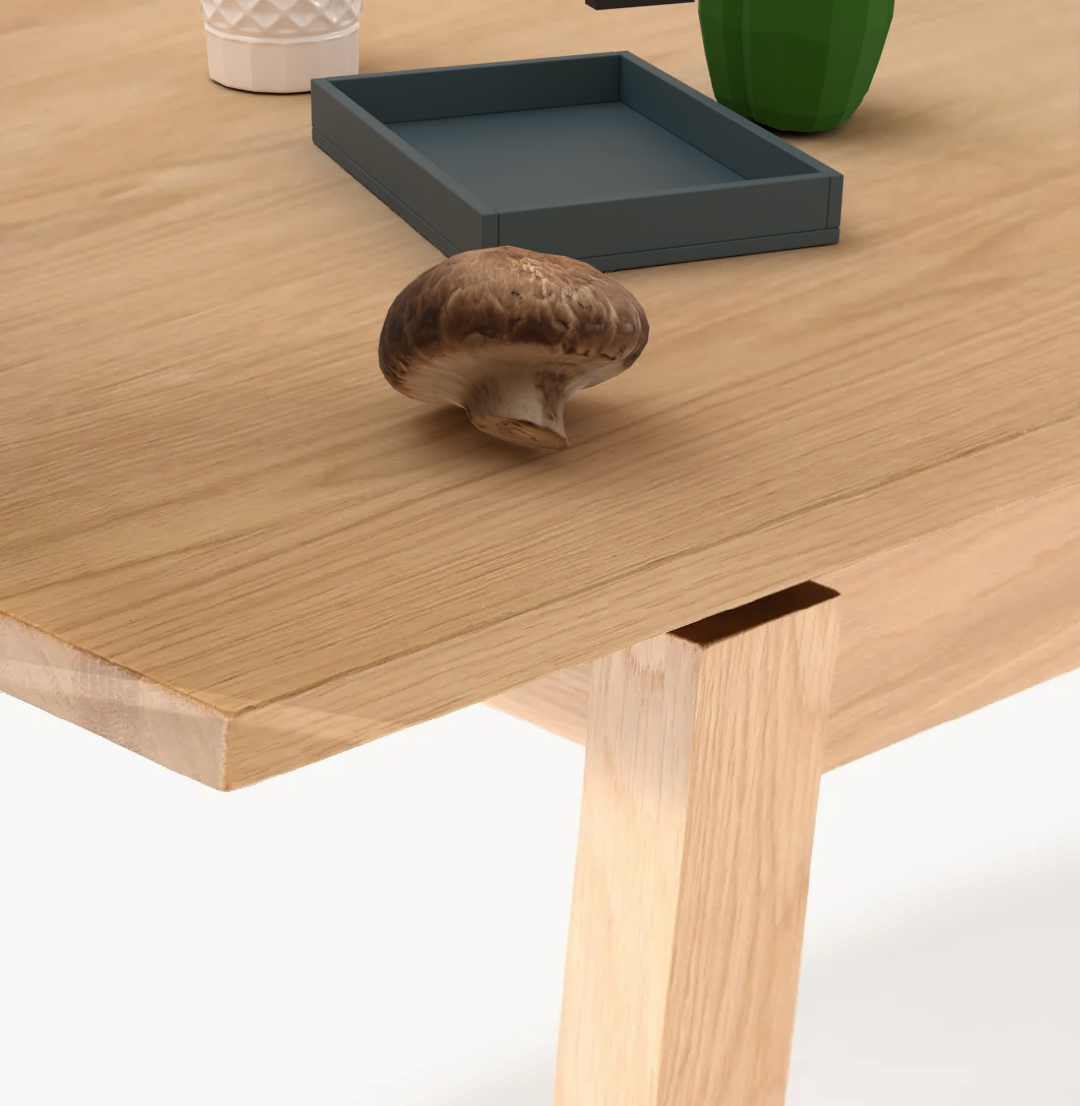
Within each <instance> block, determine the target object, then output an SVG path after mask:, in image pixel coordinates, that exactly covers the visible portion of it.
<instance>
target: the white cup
mask: <svg viewBox="0 0 1080 1106" xmlns="http://www.w3.org/2000/svg"><path fill="white" fill-rule="evenodd" d="M363 10H364V0H199V13H200V15H201V17H202V18H203V20H204V22H203V29H204V31H205V41H206V53H207V66H208V75H209V78H210V79H211V80H213V81H214V82H217V83H218V84H221V86H225V87H228V88H232V89H237V90H242V91H243V90H244V91H248V92H256V93H277V94H278V93H279V94H290V93H304V92H311V83H310V80H311V79H315V78H325V77H336V76H347V75H358V74H360V37H361V36H360V34H361V33H360V32H361V31H360V28H361V22H360V18H361V17H362V13H363Z"/></svg>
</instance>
